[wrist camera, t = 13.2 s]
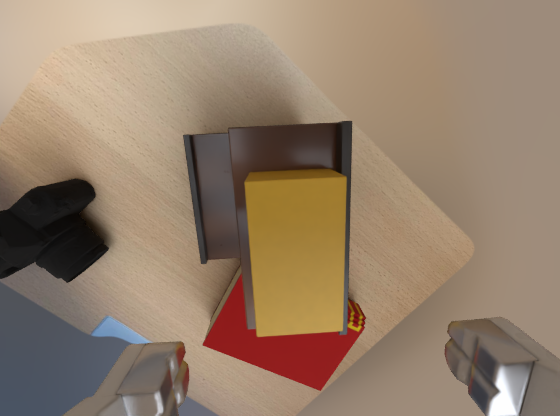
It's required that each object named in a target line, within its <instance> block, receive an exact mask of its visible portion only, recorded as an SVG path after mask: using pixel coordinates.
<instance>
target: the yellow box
mask: <svg viewBox="0 0 560 416" xmlns="http://www.w3.org/2000/svg"><path fill="white" fill-rule="evenodd" d="M244 183H245V196H246V209H247V222H248V234H249V247H250V260H251V272H252V285H253V298H254V310H255V323H256V336H257V337H263V336H278V335H293V334H307V333H322V332H337V331H343V305H344V264H345V223H346V183H347V177H346V176H344V175H342V174H340V173H338V172H336V171H334V170H332V169H330V168H328V169H307V170H287V171H266V172H250V173H249V175H248V176H247V178H246V180H245V182H244Z"/></svg>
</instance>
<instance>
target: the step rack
mask: <svg viewBox="0 0 560 416" xmlns="http://www.w3.org/2000/svg"><path fill="white" fill-rule="evenodd" d="M183 138H184V145H185V152H186V159H187V166H188V174H189V181H190V188H191V195H192V202H193V209H194V217H195V224H196V231H197V238H198V245H199V252H200V259H201V264H206V263H207V261H208V260H211V259H227V258H240V251H239V240H238V230H237V219H236V209H235V199H234V188H233V178H232V167H231V157H230V146H229V136H228V133H217V134H196V135H183Z"/></svg>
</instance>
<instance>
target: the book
mask: <svg viewBox="0 0 560 416" xmlns="http://www.w3.org/2000/svg"><path fill="white" fill-rule="evenodd" d="M365 319H366V317H365V315H364V314H363V312H362V310H361V308H360V306H359V304H357V303H355V302H353V301H351V300H349V299H348V326H347V335H339V333H338V331H337V332H322V333H307V334H293V335H278V336H263V337H257V336H256V329H247V324H246V313H245V303H244V292H243V282H242V272H241V264H240V266H239V268H238V270H237V272H236V273H235V275H234V277H233V279H232V281H231V283H230V285H229V286H228V288H227V290H226V292H225V294H224V296H223V298H222V299H221V301H220V303H219V305H218V307H217V309H216V311H215V312H214V314H213V316H212V318H211V320H210V325H209V328H208V331H207V334H206V338H205V341H204V342H203V346H206V347H209V348H211V349H214V350H216V351H219V352H221V353H224V354H227V355H229V356H232V357H234V358H237V359H240V360H242V361H245V362H247V363H250V364H252V365H255V366H258V367H260V368H263V369H265V370H268V371H271V372H273V373H276V374H278V375H281V376H283V377H286V378H289V379H291V380H294V381H296V382H299V383H302V384H304V385H307V386H309V387H312V388H314V389H317V390H320V391H321V389H322V388H323V387H324V385H325V384H326V382H327V381H328V380H329V378H330V377H331V375H332V374H333V372H334V371H335V370H336V368H337V367H338V365H339V364H340V362H341V361H342V360H343V358H344V357H345V355H346V354H347V353H348V351H349V350H350V348H351V347H352V345H353V344H354V343H355V341H356V340H357V338H358V337H359V335H360V334H361V333H362V331H363V330H364V328H365V327H364V324H365V321H364V320H365Z"/></svg>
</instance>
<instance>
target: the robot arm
mask: <svg viewBox="0 0 560 416" xmlns="http://www.w3.org/2000/svg"><path fill="white" fill-rule="evenodd" d="M447 332H448V334H449V335H450V337H451V339H450V340H449V341H448V342H447V343H446V345H445V357H446V361H447V364H448V366H449V368H450V370H451V372H452V373H453V374H454V376H455V377H456V378H457V380H459V381H461V382H462V383H464V384H465V385H467V386H468V393H469V395H470V396H471V398H472V399H473V400H474V401H475V403H476V404H477V405H478V407H479V408H480V409H481V410H482V412H483V413H484V414H485V416H560V359H558V358H557V357H556V356H555V355H553V354H552V353H551V352H549V351H548V350H547V349H545V348H544V347H543V346H541V345H540V344H539V343H538V342H536V341H535V340H534V339H532V338H531V337H530V336H528V335H527V334H526V333H524V332H523V331H522V330H520V329H519V328H518V327H517V326H515V325H514V324H513V323H511V322H510V321H509V320H507V319H505V318H502V317H494V318H484V319H475V320H463V321H452V322H451V323H450V324H449V326H448V331H447ZM185 352H186V351H185V347H184V343H183V342H181V341H180V342H160V343H147V344H130V345H129V346H127V347H126V348H125V349H124V351H123V352H122V354H121V356H120V357H119V359H118V360H117V361H116V363H115V364H114V366H113V367H112V369H111V370H110V372H109V373H108V375H107V376H106V378H105V379H104V381H103V382H102V384H101V385H100V387H99V388H98V390H97V391H96V393H95V394H94V396H93V397H87V398H85V399H84V400H83V401H81V402H80V403H79V404H77V405H76V406H74V407H73V408H72V409H70V410H69V411H68V412H66V413H65V414H64V415H63V416H179V414H178V408H179V407H180V406H181V404H183V402H184V401H185V397H186V394H187V391H188V384H189V368H188V364H187V363H186V362H185V361H184V360H183V358H184V355H185Z"/></svg>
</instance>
